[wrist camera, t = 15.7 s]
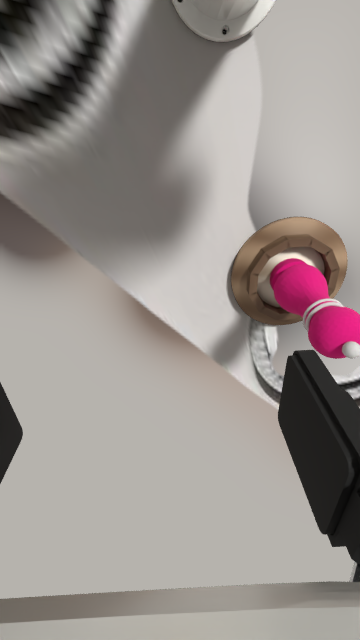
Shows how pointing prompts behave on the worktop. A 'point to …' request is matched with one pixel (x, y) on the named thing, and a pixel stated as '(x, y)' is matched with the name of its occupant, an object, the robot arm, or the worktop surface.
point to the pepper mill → (316, 308)
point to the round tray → (275, 246)
